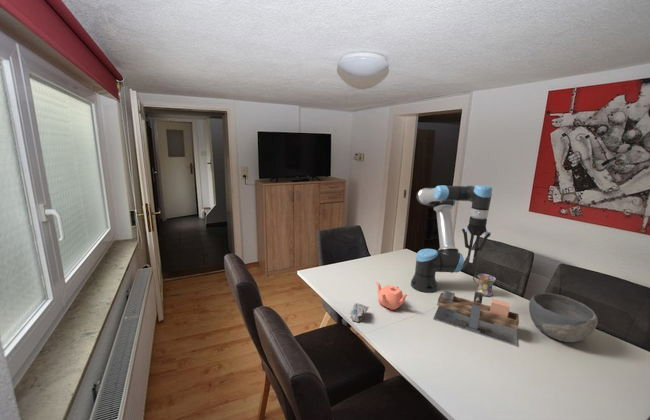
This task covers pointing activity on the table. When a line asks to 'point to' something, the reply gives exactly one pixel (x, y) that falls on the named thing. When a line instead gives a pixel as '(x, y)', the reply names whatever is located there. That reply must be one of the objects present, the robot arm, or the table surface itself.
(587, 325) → the bowl
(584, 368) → the table surface
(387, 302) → the teapot
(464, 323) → the stand
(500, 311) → the block
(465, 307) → the beam
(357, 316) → the mineral specimen
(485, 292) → the mug
